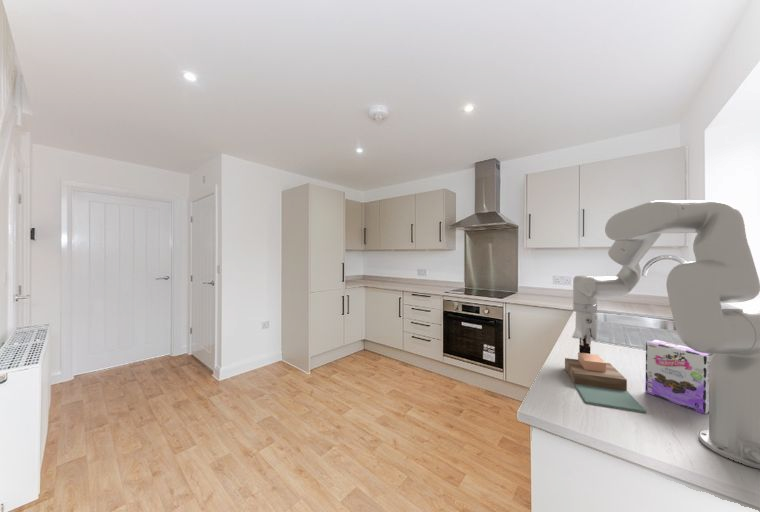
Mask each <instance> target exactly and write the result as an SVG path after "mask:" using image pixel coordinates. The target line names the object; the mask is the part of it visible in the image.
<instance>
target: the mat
mask: <svg viewBox="0 0 760 512" xmlns="http://www.w3.org/2000/svg"><path fill="white" fill-rule="evenodd" d="M574 386H575V388H576V390H577V391H578V392H579V394H580V396H581V398H582V400H583V401H584V402H585V404H588V405H594V406H599V407H607V408H612V409H619V410H624V411H631V412H637V413H643V414H647V410H646V409H645V408H644V407H643V405H642V404H640V403H639V401H637V400H636V398H635V397H634V396H633V395H632V394H631V393H630V392H629V391H628V390H627V391H623V390H616V389H609V388H602V387H595V386H588V385H581V384H574Z"/></svg>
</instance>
